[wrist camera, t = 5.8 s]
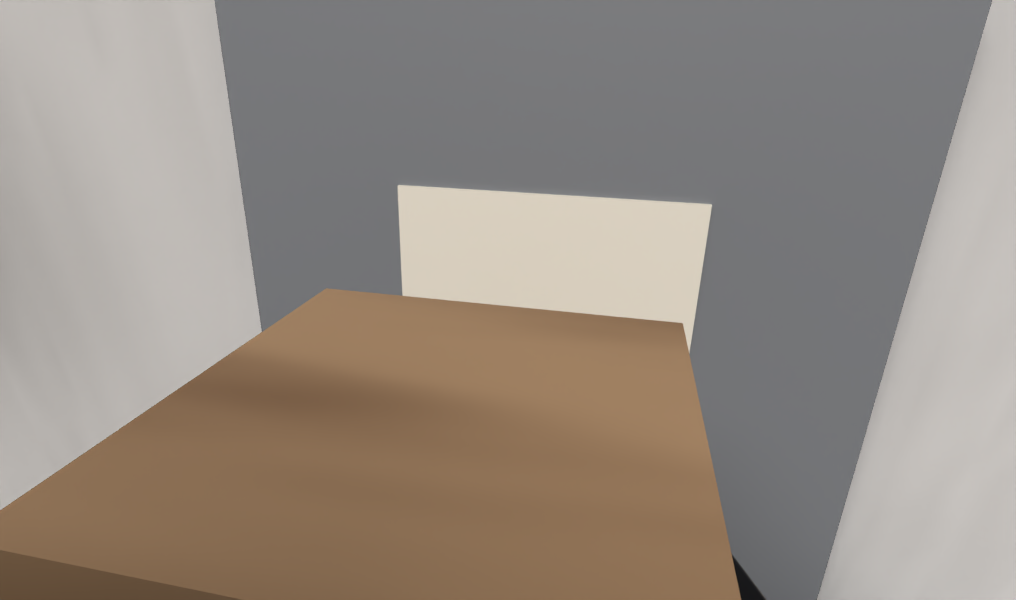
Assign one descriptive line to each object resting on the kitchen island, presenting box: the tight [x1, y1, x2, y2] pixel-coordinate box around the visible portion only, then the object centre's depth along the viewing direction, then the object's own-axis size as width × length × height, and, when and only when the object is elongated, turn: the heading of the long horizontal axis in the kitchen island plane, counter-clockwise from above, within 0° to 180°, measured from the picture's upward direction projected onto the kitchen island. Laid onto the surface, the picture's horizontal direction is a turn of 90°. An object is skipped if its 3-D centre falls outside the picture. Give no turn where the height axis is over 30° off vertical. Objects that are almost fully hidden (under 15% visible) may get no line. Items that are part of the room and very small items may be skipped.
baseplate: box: [215, 0, 992, 600], centre depth 13 cm, size 14×14×1 cm
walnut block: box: [0, 288, 741, 600], centre depth 7 cm, size 5×5×5 cm
